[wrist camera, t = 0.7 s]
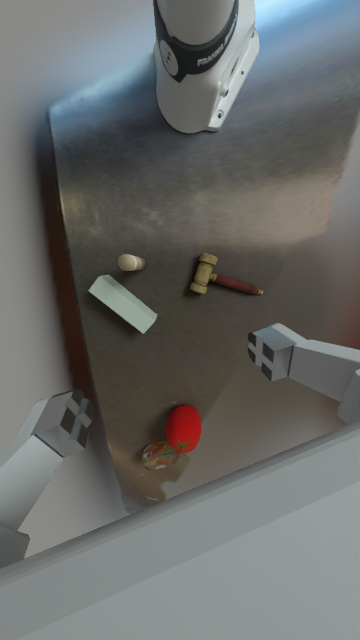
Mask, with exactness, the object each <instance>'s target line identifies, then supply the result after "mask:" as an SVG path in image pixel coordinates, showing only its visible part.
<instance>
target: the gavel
mask: <svg viewBox="0 0 360 640" xmlns="http://www.w3.org/2000/svg"><path fill="white" fill-rule="evenodd" d="M199 261H200V264H199V266H198V269H197V272H196V275H195V278H194V279H195V280H194V282H192V284H191V287H190V289H191V290H193V291H195V292H198V293H202V294H205V293H206V290H207V287H206V285H207V283H208V281H209V280H210V281H214V282H216V283H218V284H221V285H224V286H227V287H230V288H233V289H236V290H240V291H243V292H246V293H249V294H263V291H260V289H258V288H257V287H256V286H254V285H251V284H248V283H245V282H242V281H239V280H236V279H233V278H229V277H226V276H223V275H220V274H215V273H214V274H213V273H212V270H213V269H212V268H213V265H215V264H216V262H217V257H215V256H213V255H210V254H206V253H201V256H200V259H199Z"/></svg>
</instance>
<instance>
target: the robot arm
mask: <svg viewBox="0 0 360 640" xmlns="http://www.w3.org/2000/svg"><path fill="white" fill-rule="evenodd" d="M153 6H154V16H155V27H156V43H155V45H154V59H155V64H156V68H157V80H156V94H157V101H158V105H159V108H160V110H161V113H162V114H163V116H164V118H165V119H166V121H167V122H168V123H169V124H170V125H171V126H172V127H173V128H175V129H176V130H178V131H180V132H184V133H196V132H199V131H202V130H208V131H218V130H219V129H220V128H221V126H222V124H223V122H224V121H225V119H226V117H227V115H228V113H229V111H230V109H231V107H232V105H233V103H234V101H235V99H236V97H237V95H238V93H239V91H240V90H241V88H242V86H243V84H244V82H245V80H246V78H247V76H248V74H249V72H250V70H251V68H252V66H253V64H254V62H255V60H256V58H257V56H258V52H259V38H258V33H257V30H256V26H255V20H256V11H255V5H254V1H253V0H153ZM251 37H252V38H251ZM218 116H220V117H221V118H218ZM248 340H249V341H250V344H249V346H248V353H249V356H250V358H251V360H252V361H253V362H254V363H255V364H256V365H258V366H261V368H262V369H261V371H262V372H263V373H264V374H265V376H266V377H267V378H268V379H269V380H270V381H271V382H272V381H275V380H278V379H281V378H284V377H287V376H289V378H291V379H293V380H296V381H298V382H300V383H302V384H304V385H306V386H308V387H310V388H313V389H315V390H317V391H319V392H321V393H323V394H325V395H327V396H329V397H331V398H333V399H336V400H337V401H340V402H341V403H340V405H339V408H338V410H337V415H338V416H339V417H340V418H341V419H343V420H344V421H345V422H346V423H347V424H348V425H346V426H344V427H341V428H339V429H336V430H334V431H331V432H329V433H327V434H324V435H322V436H319V437H317V438H315V439H312V440H310V441H307V442H305V443H303V444H300V445H298V446H295V447H293V448H291V449H288V450H286V451H283V452H281V453H278V454H276V455H274V456H271V457H269V458H266V459H264V460H262V461H259V462H257V463H254V464H252V465H249V466H247V467H245V468H242V469H240V470H237V471H235V472H233V473H230V474H228V475H225V476H223V477H220V478H218V479H216V480H213V481H211V482H209V483H206V484H204V485H201V486H199V487H196V488H194V489H192V490H189V491H187V492H184V493H182V494H179V495H177V496H175V497H172V498H170V499H167V500H165V501H163V502H160V503H158V504H155V505H153V506H151V507H148V508H146V509H143V510H141V511H138V512H136V513H134V514H131V515H129V516H126V517H124V518H122V519H119V520H117V521H114V522H112V523H110V524H107V525H105V526H102V527H100V528H97V529H95V530H93V531H90V532H88V533H86V534H83V535H81V536H78V537H76V538H74V539H71V540H69V541H66V542H64V543H62V544H59V545H57V546H54V547H52V548H49V549H47V550H44V551H42V552H40V553H37V554H35V555H32V556H30V557H28V558H25V559H24V556H25V553H26V550H27V547H28V544H29V541H30V538H29V535H28V534H24V533H21V532H18V531H17V530H18V528H19V527H20V525H21V524H22V522H23V521H24V519H25V518H26V516H27V515H28V513H29V512H30V510H31V508H32V507H33V505H34V504H35V502H36V501H37V499H38V498H39V496H40V495H41V493H42V491H43V490H44V488H45V487H46V485H47V484H48V482H49V481H50V479H51V477H52V476H53V475H54V473H55V472H56V470H57V468H58V467H59V465H60V464H61V462H62V461H63V458H64V457H67V456H69V455H72V454H74V453H77V452H79V451H82V450H84V449H85V448H86V444H87V439H88V435H89V431H88V429H87V427H88V426H89V424H90V423H91V422H92V418H93V407H92V405H91V403H90V401H89V400H88V399H85V398H83V392H82V391H81V390H80V389H74V390H70V391H67V392H64V393H60V394H57V395H54V396H51V397H48V398H44V399H41V400H40V401H38V402H37V403H36V405H35V406H34V408H33V410H32V411H31V413H30V415H29V416H28V418H27V420H26V421H25V423H24V425H23V426H22V428H21V430H20V432H19V433H18V435H17V437H16V438H15V440H14V442H11V443H9V444H8V445H7V446H6V447H4V448H3V449H2V450H1V451H0V640H360V350H356V349H352V348H347V347H342V346H338V345H333V344H329V343H324V342H320V341H315V340H306V339H305V338H303V337H301V336H300V335H298V334H296V333H295V332H293V331H292V330H290V329H288V328H287V327H285V326H284V325H282V324H279V323H276V324H273V325H271V326H268V327H265V328H262V329H259V330H256V331H253V332H250V333H249V334H248Z"/></svg>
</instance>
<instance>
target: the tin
mask: <svg viewBox="0 0 360 640" xmlns="http://www.w3.org/2000/svg"><path fill="white" fill-rule="evenodd" d="M179 456H180V452H177V451H175V450H174V449H173V448H172V447H171V446H170V444H169V442H168V439H166V440H162V441H158V442H154V443H151V444H149V445H148V446H147V447H146V448H145V449H144V451H143V453H142V458H141V460H142V464H143V465H144V466H145V467H146V469H148V470H155V469H159V468H163V467H167V466H171V465H173V464H175V463H176V462H177V460H178V459H179Z"/></svg>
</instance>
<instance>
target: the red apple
mask: <svg viewBox="0 0 360 640" xmlns="http://www.w3.org/2000/svg"><path fill="white" fill-rule="evenodd" d="M200 435H201V420H200V417H199V414H198V412H197V410H196V409H195V408H194V407H193V406H190V405H180V406H177V407H176V408H174V409H173V411H172V412H171V414H170V416H169V419H168V422H167V426H166V436H167V439H168V442H169V444H170V446H171V447H172V448H173V449H174V450H175V451H177V452H180V453H187V452H190V451H192V450H193V449H194V448H195V447H196V446H197V443H198V441H199V439H200Z"/></svg>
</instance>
